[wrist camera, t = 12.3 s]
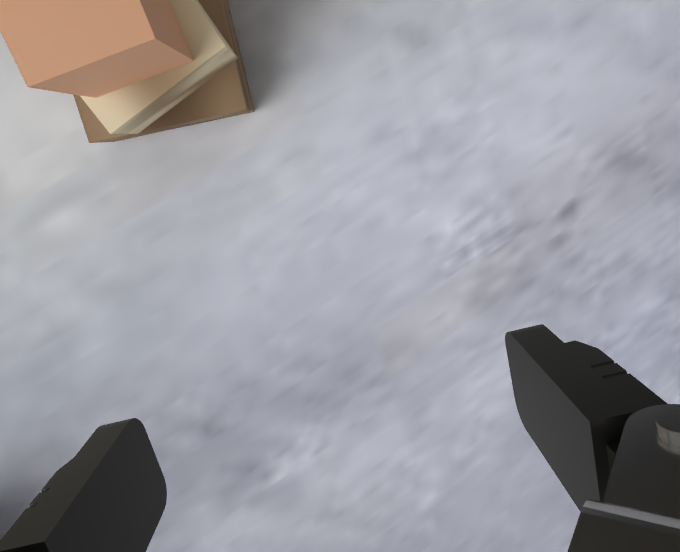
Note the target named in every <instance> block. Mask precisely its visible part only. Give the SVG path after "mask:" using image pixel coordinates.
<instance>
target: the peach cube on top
mask: <svg viewBox="0 0 680 552" xmlns="http://www.w3.org/2000/svg"><path fill="white" fill-rule="evenodd" d="M0 32H1V34H2V36H3V38H4V40H5V42H6V44H7V46H8V48H9V50H10V52H11V54H12V56H13V58H14V60H15V62H16V64H17V66H18V68H19V70H20V72H21V75H22V77H23V79H24V81H25V83H26V85H27V87H30V88H37V89H43V90H49V91H55V92H62V93H68V94H74V95H80V96H87V97H93V98H97V97H100V96H102V95H105V94H108V93H110V92H113V91H116V90H118V89H121V88H124V87H126V86H129V85H132V84H134V83H137V82H139V81H142V80H145V79H147V78H150V77H153V76H155V75H158V74H161V73H163V72H166V71H169V70H171V69H174V68H177V67H179V66H182V65H184V64H187V63H190V62H192V61H194V60H193V57H192V55H191V52H190V50H189V47H188V45H187V42H186V40H185V37H184V35H183V32H182V30H181V27H180V25H179V22H178V20H177V17H176V15H175V12H174V10H173V7H172V5H171V2H170V0H0Z"/></svg>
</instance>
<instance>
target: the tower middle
mask: <svg viewBox="0 0 680 552" xmlns="http://www.w3.org/2000/svg"><path fill="white" fill-rule="evenodd" d="M170 2H171V5H172V7H173V10H174V12H175V15H176V17H177V20H178V22H179V25H180V27H181V30H182V32H183V35H184V37H185V40H186V42H187V45H188V47H189V50H190V52H191V55H192V57H193V60H194V61H192V62H190V63H187V64H184V65H182V66H179V67H177V68H174V69H171V70H169V71H166V72H163V73H161V74H158V75H155V76H153V77H150V78H147V79H145V80H142V81H139V82H137V83H134V84H132V85H129V86H126V87H124V88H121V89H118V90H116V91H113V92H110V93H108V94H105V95H102V96H100V97H97V98H93V97H87V96H80V97H81V98H82V99H83V100H84V102H85V103H86V104H87V105H88V107H89V108H90V109H91V110H92V112H93V113H94V114H95V116H96V117H97V118H98V119H99V121H100V122H101V123H102V124H103V126H104V127H105V128H106V129H107V131H108V132H109V133H110V134H138V133H140V132H141V131H142V130H144V129H145V128H146V127H148V126H149V125H150V124H152V123H153V122H154V121H155V120H157V119H158V118H159V117H161V116H162V115H163V114H165V113H166V112H167V111H169V110H170V109H171V108H173V107H174V106H175V105H177V104H178V103H179V102H181V101H182V100H183V99H185V98H186V97H187V96H188V95H190V94H191V93H192V92H194V91H195V90H196V89H198V88H199V87H200V86H202V85H203V84H204V83H206V82H207V81H208V80H210V79H211V78H212V77H214V76H215V75H216V74H218V73H219V72H220V71H222V70H223V69H224V68H225V67H227V66H228V65H229V64H231V63H232V62H233V61H235V60H236V59H237V58H238V57H237V56H236V54H235V53H234V51H233V50H232V48H231V47H230V45H229V44H228V43H227V41H226V40H225V38H224V37H223V35H222V34H221V32H220V31H219V30H218V28H217V27H216V25H215V24H214V22H213V21H212V19H211V18H210V16H209V15H208V14H207V12H206V11H205V9H204V8H203V6H202V5H201V3H200V2H199V1H198V0H170Z"/></svg>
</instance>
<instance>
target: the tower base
mask: <svg viewBox="0 0 680 552" xmlns="http://www.w3.org/2000/svg"><path fill="white" fill-rule="evenodd" d="M198 1H199V2H200V3H201V5H202V6H203V8H204V9H205V11H206V12H207V14H208V15H209V16H210V18H211V19H212V21H213V22H214V24H215V25H216V27H217V28H218V30H219V31H220V32H221V34H222V35H223V37H224V38H225V40H226V41H227V43H228V44H229V45H230V47H231V48H232V50H233V51H234V53H235V54H236V56H237V57H238V58H237V59H236V60H235V61H233V62H232V63H231V64H229V65H228V66H227V67H225V68H224V69H223V70H222V71H220V72H219V73H218V74H216V75H215V76H214V77H212V78H211V79H210V80H208V81H207V82H206V83H204V84H203V85H202V86H200V87H199V88H198V89H196V90H195V91H194V92H192V93H191V94H190V95H188V96H187V97H186V98H185V99H183V100H182V101H181V102H179V103H178V104H177V105H175V106H174V107H173V108H171V109H170V110H169V111H167V112H166V113H165V114H163V115H162V116H161V117H159V118H158V119H157V120H155V121H154V122H153V123H152V124H150V125H149V126H148V127H146V128H145V129H144V130H142V131H141V132H140V133H138V134H110V133H109V132H108V131H107V129H106V128H105V127H104V126H103V124H102V123H101V122H100V121H99V119H98V118H97V117H96V116H95V114H94V113H93V112H92V110H91V109H90V108H89V107H88V105H87V104H86V103H85V102H84V100H83V99H82V98H81V97H80V95H74V94H73V95H74V98H75V101H76V104H77V107H78V110H79V113H80V116H81V119H82V122H83V125H84V128H85V131H86V134H87V137H88V141H89V143H97V142H114V141H119V140H124V139H128V138H133V137H138V136H142V135H147V134H152V133H156V132H161V131H166V130H170V129H175V128H180V127H184V126H189V125H194V124H198V123H203V122H208V121H212V120H217V119H222V118H226V117H231V116H236V115H240V114H245V113H250V112H254V109H253V104H252V100H251V96H250V92H249V88H248V83H247V79H246V75H245V71H244V67H243V63H242V58H241V54H240V50H239V46H238V42H237V37H236V33H235V29H234V25H233V21H232V17H231V12H230V8H229V4H228V0H198Z"/></svg>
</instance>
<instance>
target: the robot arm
mask: <svg viewBox="0 0 680 552" xmlns="http://www.w3.org/2000/svg"><path fill="white" fill-rule="evenodd" d="M505 343H506V349H507V355H508V361H509V367H510V373H511V379H512V384H513V390H514V396H515V401H516V405H517V409H518V412H519V415H520V418H521V420H522V423H523V425H524V427H525V429H526V430H527V432H528V433H529V435H530V436H531V438H532V439H533V441H534V442H535V444H536V445H537V447H538V448H539V450H540V451H541V453H542V454H543V456H544V457H545V459H546V460H547V462H548V463H549V465H550V466H551V468H552V469H553V471H554V472H555V474H556V475H557V477H558V478H559V480H560V481H561V483H562V485H563V486H564V488H565V489H566V491H567V492H568V494H569V495H570V497H571V498H572V500H573V501H574V503H575V504H576V506H577V507H578V509H579V510H580V512H581V513H580V516H579V519H578V522H577V525H576V528H575V531H574V534H573V537H572V540H571V543H570V546H569V549H568V552H680V404H667V403H666V402H665V401H663V400H662V399H661V398H660V397H658V396H657V395H656V394H655V393H653V392H652V391H651V390H650V389H648V388H647V387H646V386H645V385H643V384H642V383H641V382H640V381H638V380H637V379H636V378H635V377H633V376H632V375H631V374H627V372H626V370H625V369H623V368H622V367H621V366H620V365H618V364H617V363H614V361H613V360H612V359H611V358H610V357H608V356H607V355H606V354H605V353H603V352H602V351H601V350H600V349H598V348H595V347H592V346H589V345H587V344H584V343H581V342H578V341H571V342H567V343H564V342H562V341H561V340H560V339H559V338H558V337H557V336H556V335H555V334H553V333H552V332H551V331H550V330H549V329H548V328H547V327H546V326H544V325H542V324H541V325H536V326H532V327H528V328H523V329H519V330H515V331H510V332H507V333H506V335H505ZM166 499H167V490H166V483H165V479H164V476H163V473H162V471H161V468H160V466H159V463H158V461H157V458H156V456H155V453H154V450H153V448H152V445H151V443H150V440H149V438H148V435H147V433H146V430H145V428H144V426H143V424H142V423H141V421H140V420H138V419H136V418H132V419H128V420H124V421H120V422H115V423H111V424H107V425H102V426H100V427H98V428H97V429H96V431H95V432H94V433H93V434H92V436H91V437H90V438H89V439H88V441H87V442H86V443H85V445H84V446H83V447H82V448H81V450H80V451H79V452H78V453H77V455H76V456H75V457H74V458H73V459H72V460H70V461H69V462H68V463H67V464H65V465H64V466H63V467H62V468H60V469H59V470H58V471H57V472H56V473H55V474H54V475H53V477H52V478H51V479H50V480H49V482H48V483H47V484H46V485H45V486H44V488H43V489H42V493H39V494H38V495H37V496H36V498H35V499H34V500H33V501H32V502H31V504H30V508H28V509H26V510H25V511H24V512H23V514H22V515H21V516H20V517H19V518H18V520H17V521H16V522H15V523H14V525H13V526H12V527H11V528H10V530H9V531H8V532H7V533H6V534H5V536H4V537H3V538H2V539H1V541H0V552H146V550H147V547H148V545H149V543H150V541H151V538H152V536H153V534H154V532H155V529H156V527H157V525H158V523H159V520H160V518H161V516H162V514H163V511H164V509H165V505H166Z"/></svg>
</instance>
